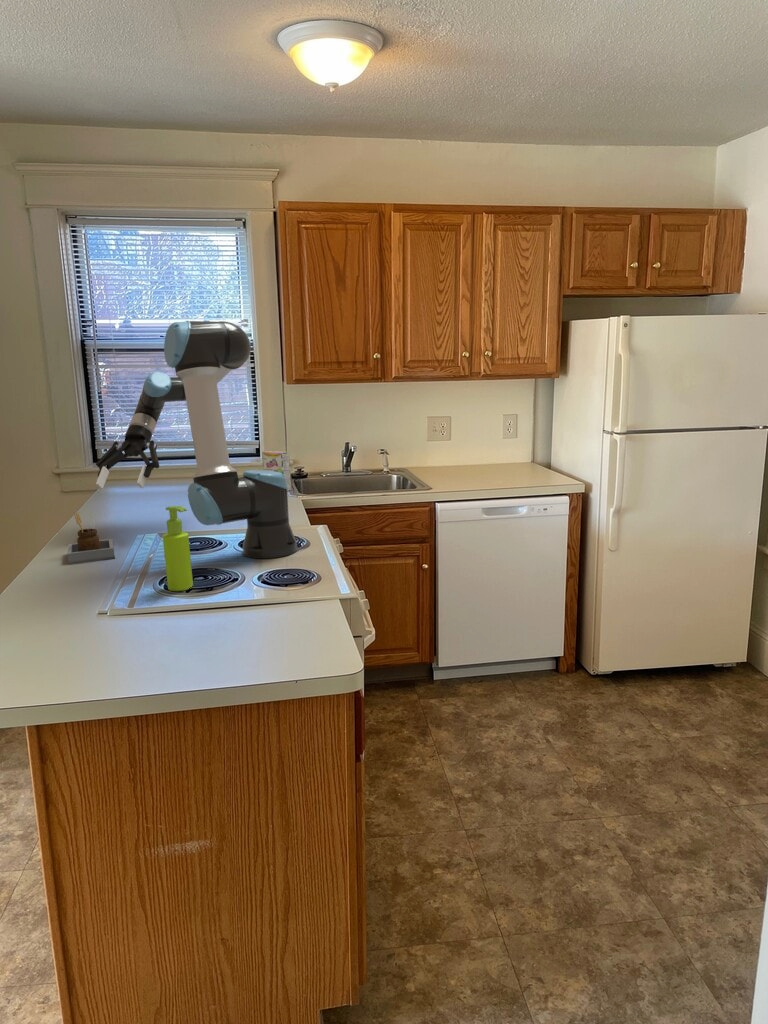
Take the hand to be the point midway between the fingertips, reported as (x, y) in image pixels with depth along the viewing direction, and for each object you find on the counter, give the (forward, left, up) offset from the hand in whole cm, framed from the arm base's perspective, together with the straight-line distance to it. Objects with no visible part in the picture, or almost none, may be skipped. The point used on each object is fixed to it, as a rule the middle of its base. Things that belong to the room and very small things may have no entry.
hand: (119, 486), depth 211 cm
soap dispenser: (-53, -10, -18) cm, 57 cm away
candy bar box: (+65, -64, -18) cm, 93 cm away
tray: (-10, +10, -18) cm, 23 cm away
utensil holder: (-10, +10, -18) cm, 22 cm away
